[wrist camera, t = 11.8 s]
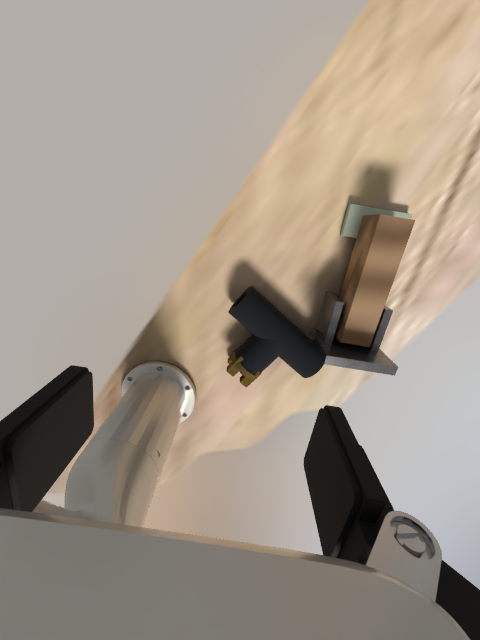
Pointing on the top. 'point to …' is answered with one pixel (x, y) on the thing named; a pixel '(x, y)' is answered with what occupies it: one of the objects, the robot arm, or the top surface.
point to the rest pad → (356, 215)
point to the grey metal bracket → (350, 353)
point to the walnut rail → (371, 276)
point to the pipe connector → (269, 340)
